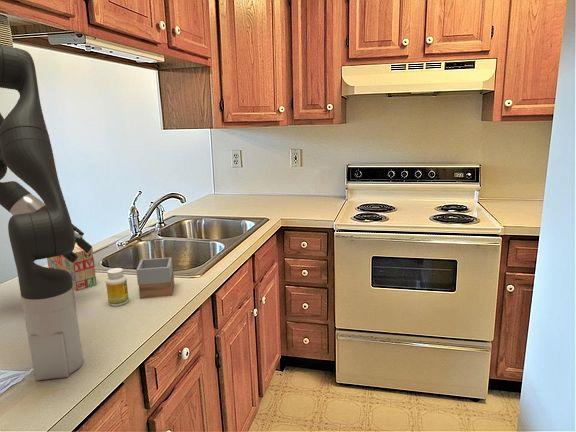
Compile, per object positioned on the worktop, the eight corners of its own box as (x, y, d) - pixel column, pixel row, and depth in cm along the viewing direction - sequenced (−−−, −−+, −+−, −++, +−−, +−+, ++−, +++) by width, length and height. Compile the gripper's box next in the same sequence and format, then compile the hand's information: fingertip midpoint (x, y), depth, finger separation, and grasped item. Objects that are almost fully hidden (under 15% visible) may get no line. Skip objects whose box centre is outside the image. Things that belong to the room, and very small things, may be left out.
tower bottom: (172, 296, 126) (171, 282, 125) (140, 299, 124) (138, 284, 123) (174, 285, 134) (173, 271, 133) (144, 287, 133) (142, 273, 132)
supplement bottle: (107, 300, 123) (104, 268, 121) (127, 297, 125) (124, 265, 123) (109, 308, 118) (105, 275, 116) (129, 304, 120) (126, 271, 118)
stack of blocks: (48, 275, 144) (43, 239, 141) (68, 269, 148) (63, 235, 145) (77, 291, 130) (71, 252, 127) (97, 285, 134) (92, 247, 132)
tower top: (170, 282, 125) (169, 267, 124) (137, 284, 123) (136, 269, 122) (172, 271, 133) (171, 257, 132) (142, 273, 132) (140, 259, 131)
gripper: (27, 210, 108) (79, 253, 111) (57, 199, 122) (102, 238, 125) (9, 231, 109) (61, 273, 112) (41, 218, 123) (86, 255, 126)
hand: (83, 254), depth 118 cm, fingers open, 8 cm apart
